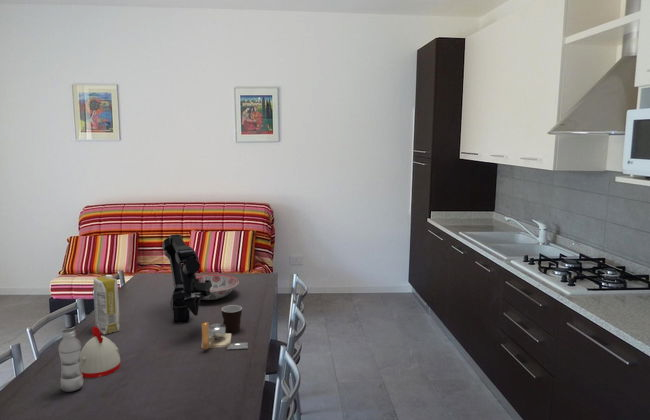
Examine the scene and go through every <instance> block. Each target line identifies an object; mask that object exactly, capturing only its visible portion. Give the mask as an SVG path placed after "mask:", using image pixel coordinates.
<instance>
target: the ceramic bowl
mask: <svg viewBox="0 0 650 420" xmlns="http://www.w3.org/2000/svg"><path fill="white" fill-rule="evenodd" d="M196 279H199V281H200V282H205V280H211V283H212V287H211V288H210V293H211V295H210V296H206V297H203V298H202V299H201V301H202V300H203V301H204V300H205V301H206V300H207V301H213V300H218V299H222V298H224V297H226V296H228V295H229V294H230V293H232V291H233V290H234V289H235V287H237V286H238V285H239V283H240V281H239V279H238V278H237V277H235V276H233V275H226V274H203V275H202V274H201V275H196Z"/></svg>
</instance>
